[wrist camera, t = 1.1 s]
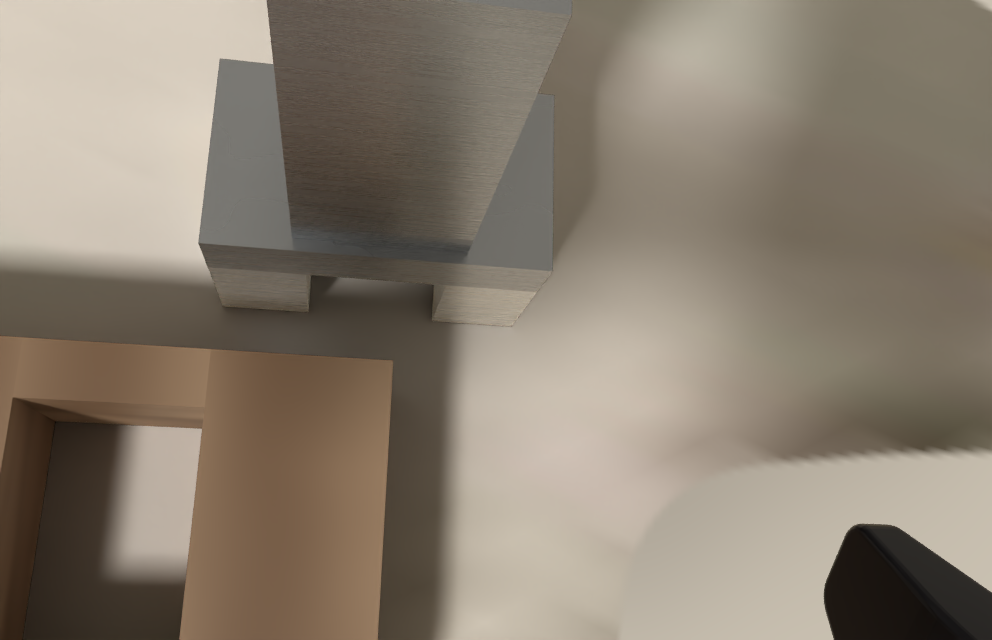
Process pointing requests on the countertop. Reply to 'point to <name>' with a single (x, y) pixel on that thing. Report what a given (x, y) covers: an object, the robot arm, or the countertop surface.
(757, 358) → the countertop surface
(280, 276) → the grey tower on plinth
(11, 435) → the rail
